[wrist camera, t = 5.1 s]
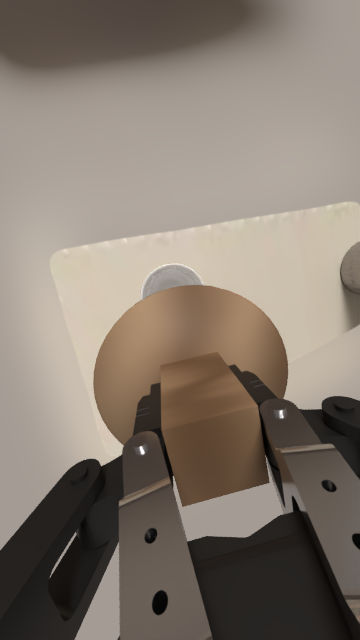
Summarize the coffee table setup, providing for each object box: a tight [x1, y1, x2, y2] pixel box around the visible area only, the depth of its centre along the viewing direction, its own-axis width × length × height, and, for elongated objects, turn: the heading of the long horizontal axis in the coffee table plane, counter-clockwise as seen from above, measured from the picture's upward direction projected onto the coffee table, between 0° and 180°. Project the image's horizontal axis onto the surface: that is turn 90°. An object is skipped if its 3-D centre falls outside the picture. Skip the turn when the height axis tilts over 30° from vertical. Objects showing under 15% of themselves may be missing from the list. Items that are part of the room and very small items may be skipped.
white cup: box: [140, 264, 205, 300], centre depth 31 cm, size 8×8×10 cm
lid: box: [93, 285, 288, 506], centre depth 10 cm, size 11×11×6 cm
